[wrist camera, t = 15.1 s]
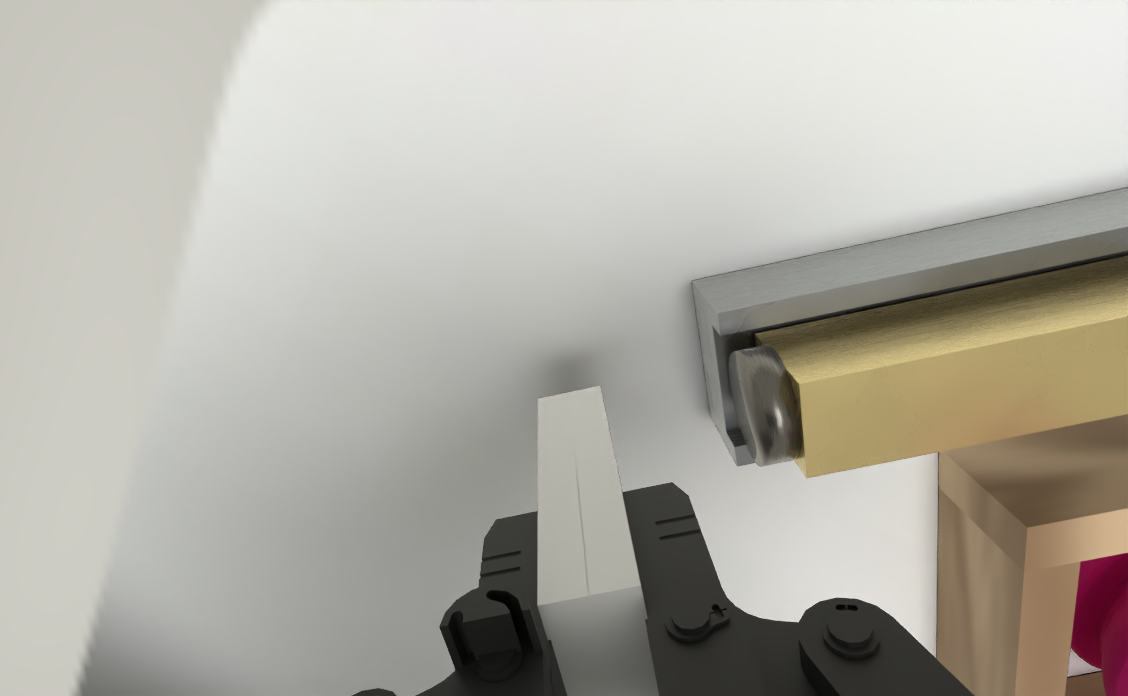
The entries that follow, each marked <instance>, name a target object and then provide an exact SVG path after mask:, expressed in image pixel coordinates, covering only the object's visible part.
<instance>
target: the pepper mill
mask: <svg viewBox="0 0 1128 696" xmlns="http://www.w3.org/2000/svg"><path fill="white" fill-rule="evenodd" d="M1071 648H1072V649H1073V651H1074V652H1075V653H1076V654H1077V655H1078V656H1079V657H1080V658H1082V659H1083V660H1084V661H1086V662H1087V663H1089V664H1090V665H1092V666H1094V667H1096V668H1099V669H1102V677H1103V684H1104V689H1105V693H1106V696H1128V553H1123V554H1118V555H1113V556H1107V557H1102V558H1097V559H1092V560H1086V561H1081V562H1080V570H1079V578H1078V587H1077V595H1076V604H1075V613H1074V621H1073V630H1072V638H1071Z"/></svg>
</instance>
